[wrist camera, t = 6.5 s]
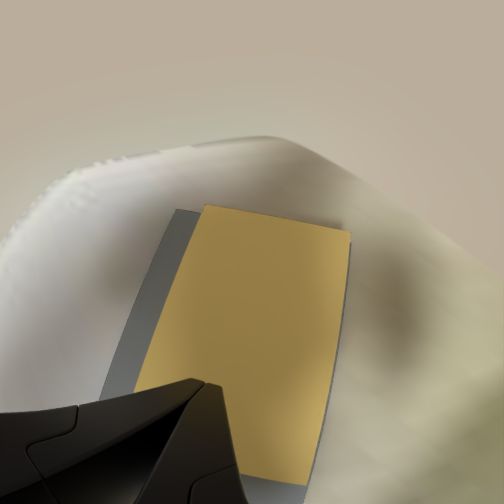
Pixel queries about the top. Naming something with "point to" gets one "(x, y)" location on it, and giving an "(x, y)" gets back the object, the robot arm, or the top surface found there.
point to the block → (257, 331)
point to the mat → (141, 332)
